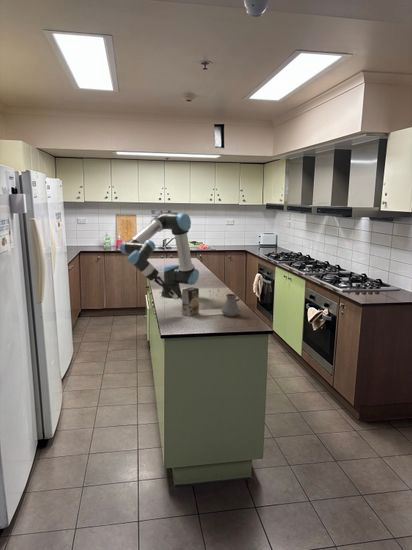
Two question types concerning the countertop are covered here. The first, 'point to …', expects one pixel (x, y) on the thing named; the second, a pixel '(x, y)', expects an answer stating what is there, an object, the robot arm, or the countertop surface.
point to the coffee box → (190, 301)
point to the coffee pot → (231, 306)
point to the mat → (210, 312)
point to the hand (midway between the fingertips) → (176, 297)
